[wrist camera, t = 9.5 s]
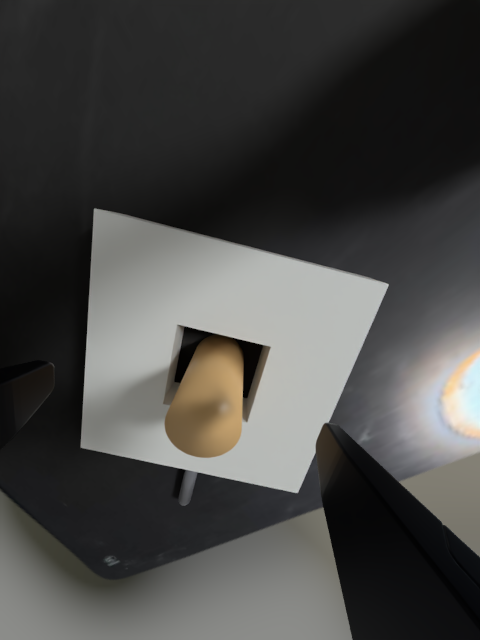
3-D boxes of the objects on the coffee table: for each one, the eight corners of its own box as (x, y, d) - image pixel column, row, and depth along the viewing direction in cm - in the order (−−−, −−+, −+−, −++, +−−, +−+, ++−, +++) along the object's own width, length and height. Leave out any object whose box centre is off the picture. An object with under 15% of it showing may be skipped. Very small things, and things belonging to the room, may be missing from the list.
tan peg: (249, 341, 20) (250, 404, 12) (237, 383, 21) (231, 464, 14) (200, 329, 20) (170, 386, 12) (191, 372, 21) (159, 448, 14)
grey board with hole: (366, 276, 18) (389, 284, 15) (270, 513, 26) (273, 547, 23) (119, 213, 17) (94, 208, 14) (96, 478, 25) (77, 508, 22)
